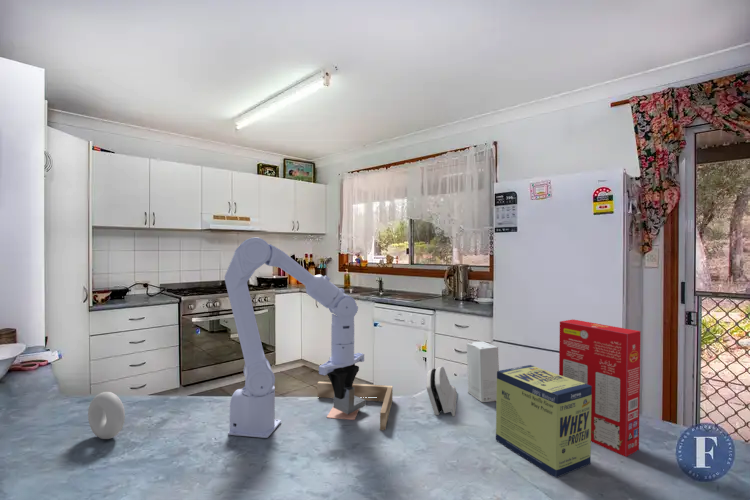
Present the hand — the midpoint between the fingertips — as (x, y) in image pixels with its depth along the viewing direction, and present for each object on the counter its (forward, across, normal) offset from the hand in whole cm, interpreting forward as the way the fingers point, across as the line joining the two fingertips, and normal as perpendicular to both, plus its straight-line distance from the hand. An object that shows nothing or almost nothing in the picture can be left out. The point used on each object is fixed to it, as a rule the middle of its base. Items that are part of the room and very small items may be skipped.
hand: (342, 396), depth 95 cm
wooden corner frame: (+5, -2, 0) cm, 5 cm away
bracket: (+3, -2, 0) cm, 4 cm away
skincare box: (+5, -34, +22) cm, 41 cm away
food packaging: (+5, -28, +52) cm, 59 cm away
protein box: (+5, -14, +44) cm, 46 cm away
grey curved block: (+5, -23, +15) cm, 28 cm away
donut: (+5, +41, -32) cm, 52 cm away
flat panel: (+5, -2, -1) cm, 5 cm away
